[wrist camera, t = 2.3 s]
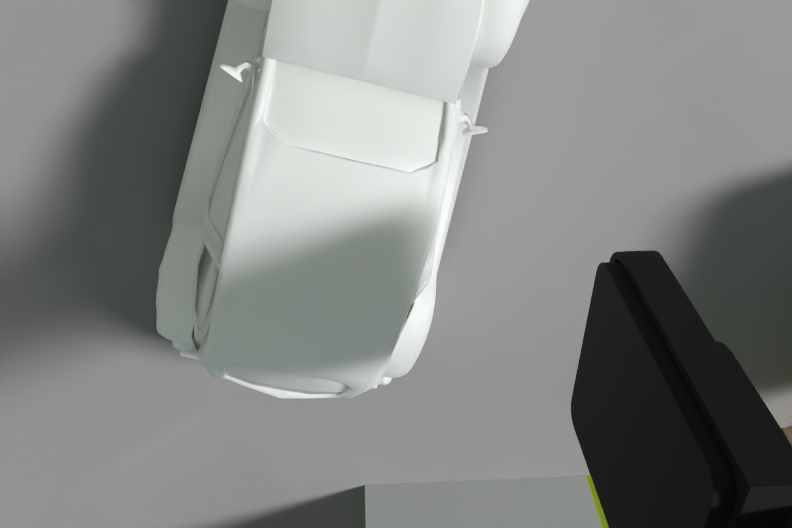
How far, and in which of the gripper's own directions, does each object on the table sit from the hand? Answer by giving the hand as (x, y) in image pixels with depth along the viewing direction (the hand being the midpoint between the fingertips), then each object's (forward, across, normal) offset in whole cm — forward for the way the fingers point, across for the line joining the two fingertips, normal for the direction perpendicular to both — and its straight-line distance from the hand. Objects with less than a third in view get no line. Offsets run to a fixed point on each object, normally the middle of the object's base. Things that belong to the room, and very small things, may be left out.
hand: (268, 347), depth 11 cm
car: (+7, -1, 0) cm, 7 cm away
